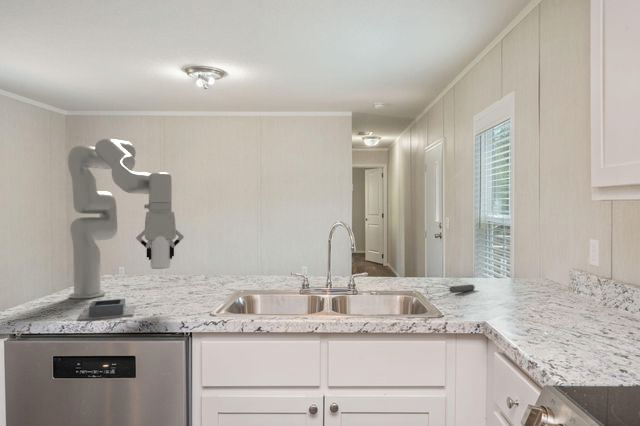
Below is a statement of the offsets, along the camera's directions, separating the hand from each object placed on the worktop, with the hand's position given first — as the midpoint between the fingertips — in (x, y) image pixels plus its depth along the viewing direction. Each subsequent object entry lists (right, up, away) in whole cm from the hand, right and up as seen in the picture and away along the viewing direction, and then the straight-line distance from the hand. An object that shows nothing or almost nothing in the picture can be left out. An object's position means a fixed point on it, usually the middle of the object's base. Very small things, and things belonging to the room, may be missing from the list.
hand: (160, 258), depth 149 cm
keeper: (-15, -17, -8) cm, 24 cm away
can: (0, -3, 0) cm, 3 cm away
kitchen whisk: (+108, -17, +19) cm, 111 cm away
